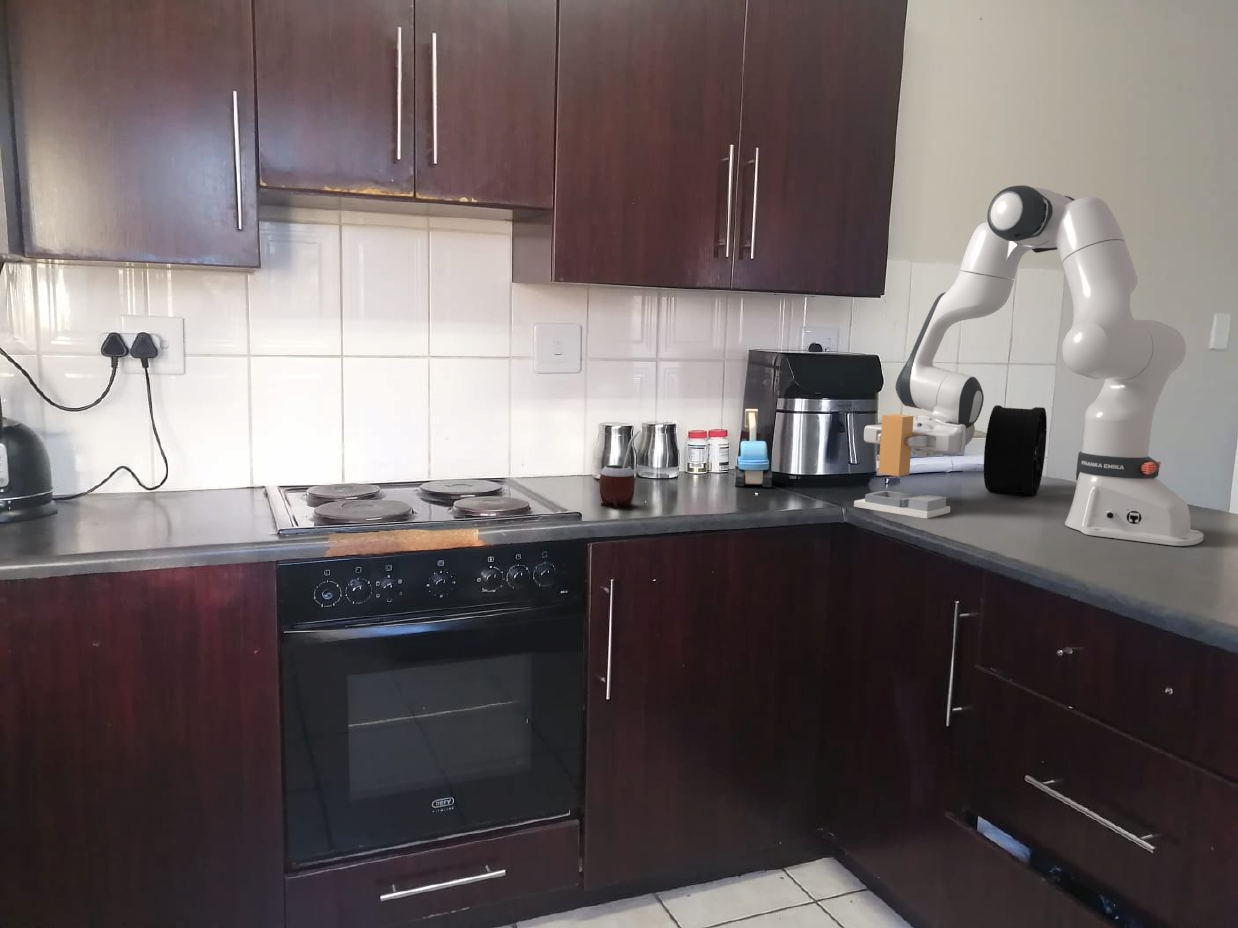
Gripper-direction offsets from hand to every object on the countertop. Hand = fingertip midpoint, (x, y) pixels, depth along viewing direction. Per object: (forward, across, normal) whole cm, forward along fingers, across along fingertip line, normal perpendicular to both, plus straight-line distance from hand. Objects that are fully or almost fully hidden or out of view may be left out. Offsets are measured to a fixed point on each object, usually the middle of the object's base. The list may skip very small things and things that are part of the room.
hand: (894, 440), depth 188 cm
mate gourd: (+42, -37, +14) cm, 58 cm away
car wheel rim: (-42, +8, +14) cm, 45 cm away
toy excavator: (-4, -38, +15) cm, 41 cm away
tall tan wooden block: (-1, 0, +7) cm, 7 cm away
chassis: (-1, +2, +14) cm, 14 cm away
